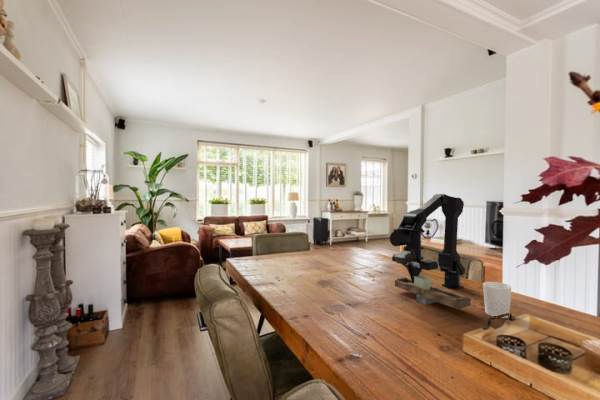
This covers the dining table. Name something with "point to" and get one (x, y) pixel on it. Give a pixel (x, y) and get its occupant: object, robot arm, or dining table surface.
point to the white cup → (497, 298)
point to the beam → (433, 294)
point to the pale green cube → (422, 282)
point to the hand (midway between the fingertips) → (413, 282)
